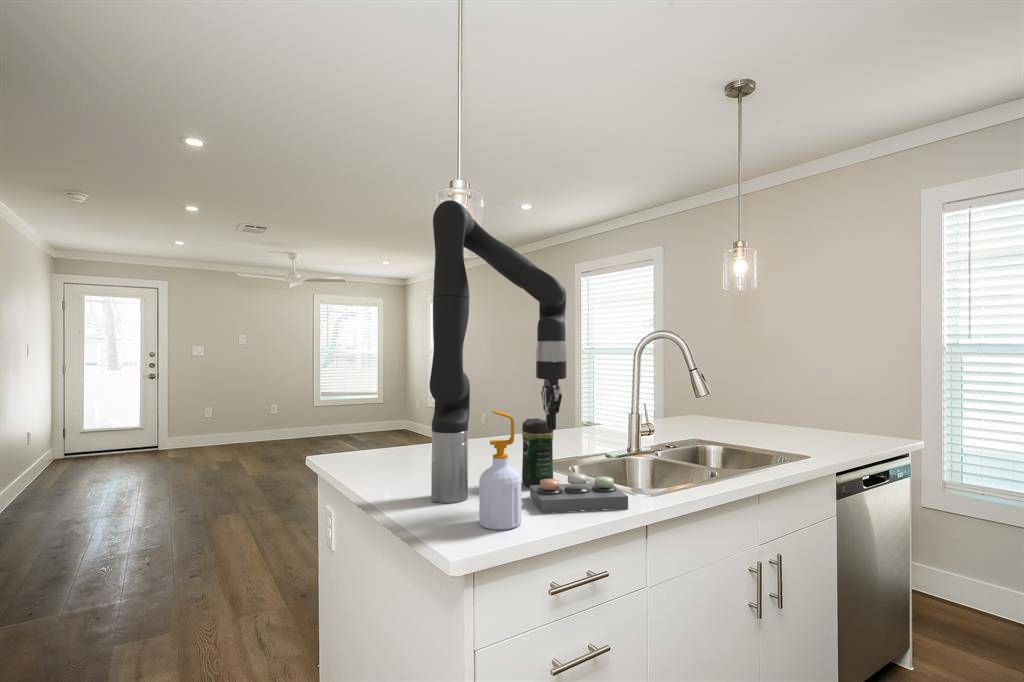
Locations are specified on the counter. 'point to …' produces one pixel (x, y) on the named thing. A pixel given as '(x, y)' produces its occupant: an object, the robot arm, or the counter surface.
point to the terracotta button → (549, 484)
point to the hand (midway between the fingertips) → (550, 429)
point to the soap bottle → (500, 489)
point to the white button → (577, 478)
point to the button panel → (578, 498)
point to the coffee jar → (536, 452)
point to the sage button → (604, 482)
